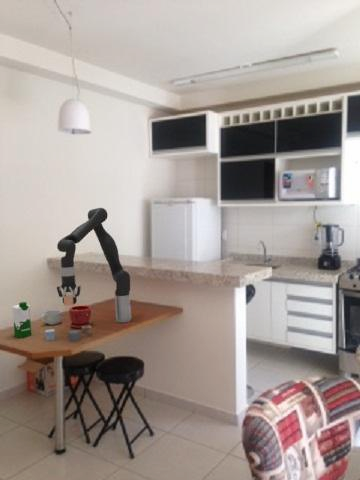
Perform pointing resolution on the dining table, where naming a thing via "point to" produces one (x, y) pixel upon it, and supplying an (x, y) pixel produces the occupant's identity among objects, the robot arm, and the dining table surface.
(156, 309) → the dining table surface
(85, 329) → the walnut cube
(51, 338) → the slate blue cube
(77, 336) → the charcoal cube
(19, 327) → the milk carton
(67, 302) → the terracotta cube
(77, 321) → the plant pot
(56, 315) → the teacup
